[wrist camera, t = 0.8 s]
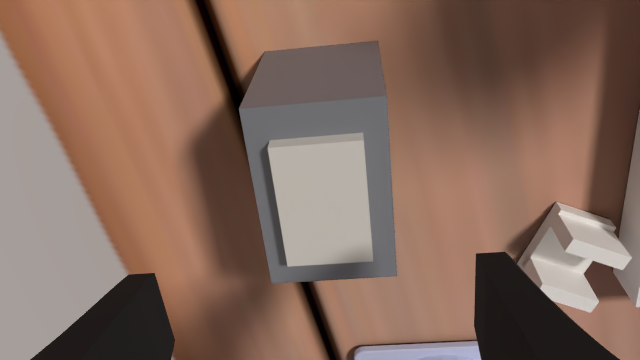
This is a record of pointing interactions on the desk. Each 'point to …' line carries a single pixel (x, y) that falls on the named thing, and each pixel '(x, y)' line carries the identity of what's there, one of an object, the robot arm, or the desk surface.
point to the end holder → (632, 227)
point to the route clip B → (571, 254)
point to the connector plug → (322, 162)
